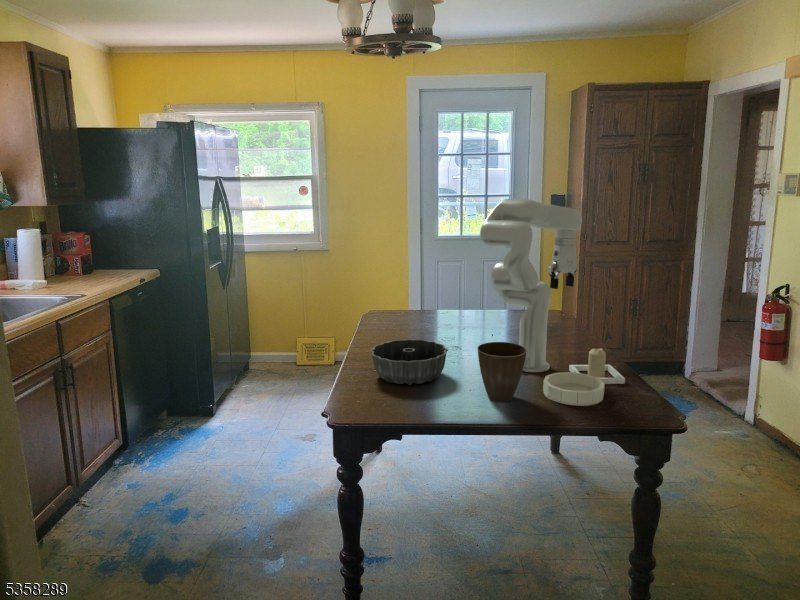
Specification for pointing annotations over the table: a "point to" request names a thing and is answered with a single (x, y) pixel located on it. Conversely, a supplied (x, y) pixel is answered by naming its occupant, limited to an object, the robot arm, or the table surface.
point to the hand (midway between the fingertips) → (561, 287)
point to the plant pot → (501, 368)
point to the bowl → (573, 388)
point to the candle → (597, 363)
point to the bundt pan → (409, 360)
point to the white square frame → (607, 380)
